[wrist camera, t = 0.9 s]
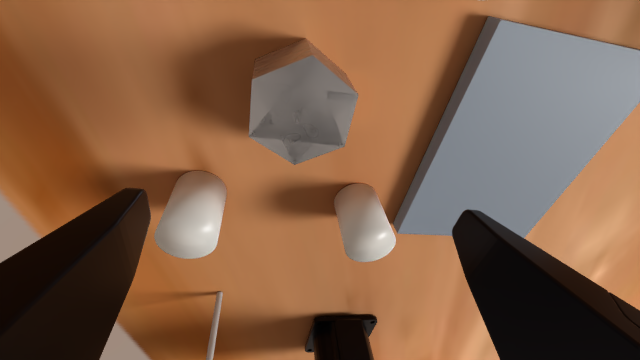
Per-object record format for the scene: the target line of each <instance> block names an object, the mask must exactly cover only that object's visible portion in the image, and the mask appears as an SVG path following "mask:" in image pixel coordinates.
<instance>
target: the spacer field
mask: <svg viewBox="0 0 640 360" xmlns="http://www.w3.org/2000/svg"><path fill="white" fill-rule="evenodd" d="M226 196H227V189H226V186H225V184H224V182H223V181H222V180H221V179H220V178H219V177H217V176H216V175H214V174H212V173H209V172H205V171H191V172H187V173H185V174H183V175H182V176H180V177H179V179H178V180H177V182H176V184H175V187H174V189H173V191H172V194H171V196H170V198H169V201H168V203H167V205H166V208H165V210H164V212H163V215H162V217H161V220H160V222H159V224H158V227H157V229H156V231H155V241H156V243H157V245H158V246H159V247H160V248H161V249H162V250H163V251H164V252H166V253H168V254H170V255H172V256H175V257H179V258H186V259H194V258H200V257H203V256H206V255H208V254H210V253H211V252H212V251H213V250H214V249H215V248H216V246H217V242H218V237H219V232H220V227H221V221H222V216H223V211H224V206H225V201H226ZM334 206H335V211H336V215H337V219H338V223H339V227H340V231H341V235H342V240H343V244H344V248H345V252H346V254H347V256H348V257H349V258H351V259H352V260H355V261H359V262H370V261H375V260H378V259H380V258H382V257H384V256H386V255H387V254H388V253H390V252H391V250H392V249H393V248H394V246H395V243H396V238H395V235H394V233H393V231H392V228H391V226H390V224H389V221H388V219H387V217H386V214H385V212H384V210H383V207H382V205H381V203H380V200H379V198H378V196H377V193H376V191H375V190H374V189H373V188H372V187H371V186H369V185H367V184H363V183H355V184H351V185H348V186H346V187H344V188H343V189H341V190H340V191H339V192H338V193H337V195H336V197H335V199H334Z"/></svg>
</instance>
